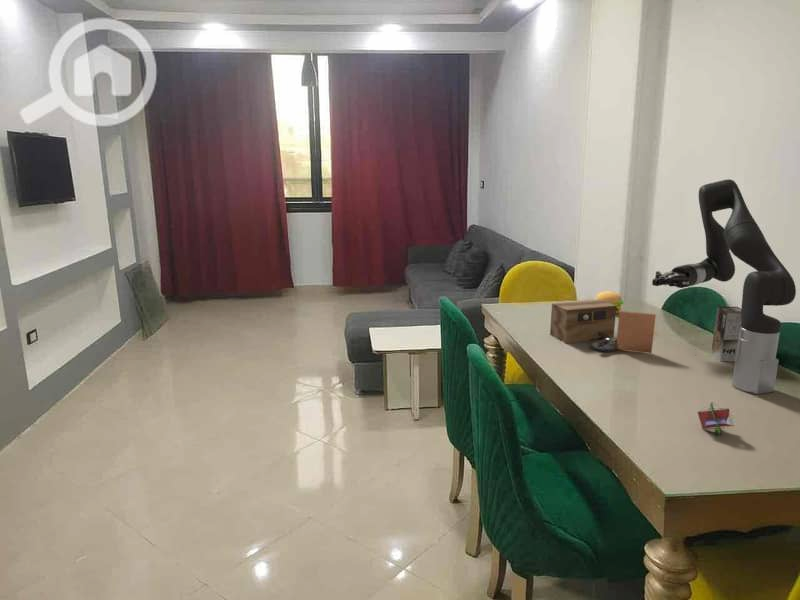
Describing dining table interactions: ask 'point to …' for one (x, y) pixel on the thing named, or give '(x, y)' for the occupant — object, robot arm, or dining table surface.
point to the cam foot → (628, 334)
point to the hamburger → (611, 299)
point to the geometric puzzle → (716, 418)
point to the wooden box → (582, 320)
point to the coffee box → (726, 333)
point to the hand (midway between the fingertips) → (654, 282)
